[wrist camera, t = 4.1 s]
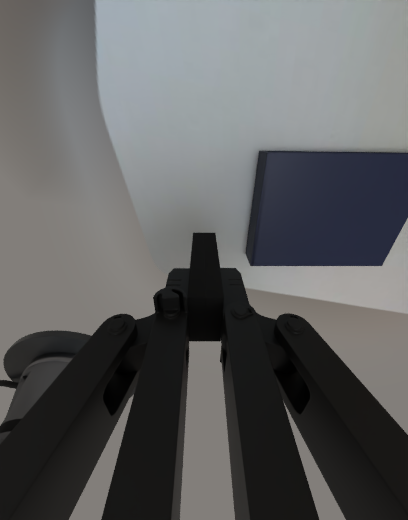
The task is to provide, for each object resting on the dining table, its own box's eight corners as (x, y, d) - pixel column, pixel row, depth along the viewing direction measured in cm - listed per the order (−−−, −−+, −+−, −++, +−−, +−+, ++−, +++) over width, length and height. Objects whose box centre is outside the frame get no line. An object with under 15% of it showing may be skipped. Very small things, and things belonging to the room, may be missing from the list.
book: (245, 253, 27) (250, 265, 24) (259, 150, 21) (267, 152, 18) (364, 253, 27) (381, 266, 25) (412, 152, 21) (442, 154, 19)
